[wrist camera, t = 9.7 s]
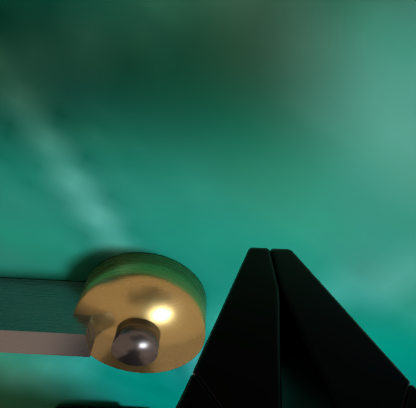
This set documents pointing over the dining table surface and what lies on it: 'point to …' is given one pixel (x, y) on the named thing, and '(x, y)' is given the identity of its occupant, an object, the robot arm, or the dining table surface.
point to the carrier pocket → (43, 318)
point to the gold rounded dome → (144, 312)
